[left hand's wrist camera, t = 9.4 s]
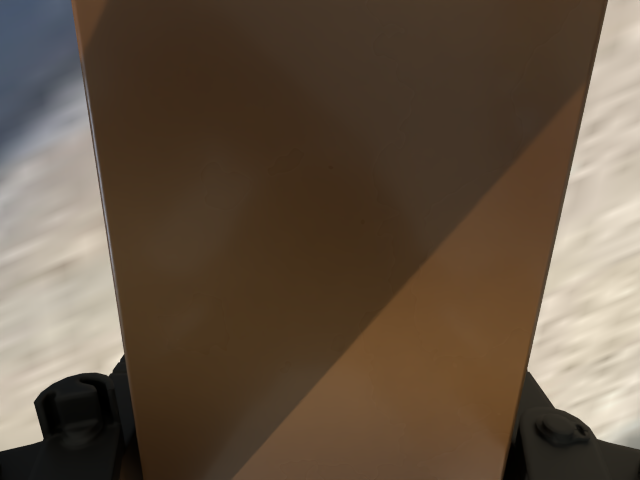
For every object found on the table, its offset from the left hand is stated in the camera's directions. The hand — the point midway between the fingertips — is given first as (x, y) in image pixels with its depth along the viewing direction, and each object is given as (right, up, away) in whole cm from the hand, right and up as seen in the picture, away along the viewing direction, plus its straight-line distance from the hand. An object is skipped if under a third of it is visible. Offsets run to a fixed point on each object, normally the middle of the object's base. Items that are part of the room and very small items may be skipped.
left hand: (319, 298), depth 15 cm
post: (+1, +27, -9) cm, 28 cm away
